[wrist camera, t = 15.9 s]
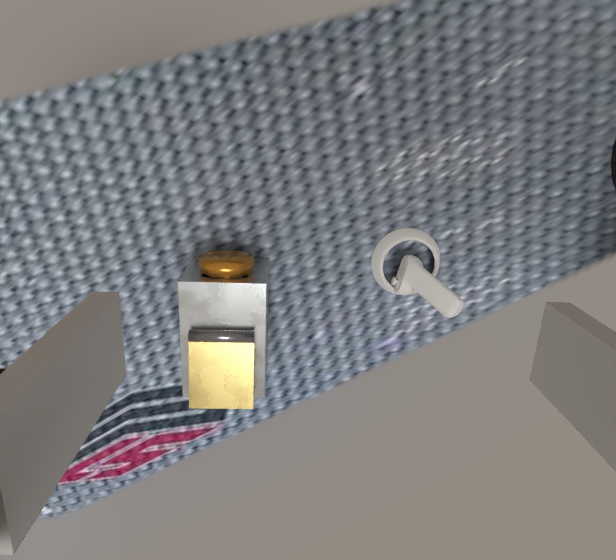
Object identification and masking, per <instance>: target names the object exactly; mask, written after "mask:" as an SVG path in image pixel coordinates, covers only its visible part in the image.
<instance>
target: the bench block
mask: <svg viewBox="0 0 616 560" xmlns="http://www.w3.org/2000/svg"><path fill="white" fill-rule="evenodd" d="M268 295H269V258H253V271H252V272H251V273H249V274H247V275H243V278H222V277H210V276H209V275H205V274H203V273H201V272H200V270H199V256H194V258H193V259H192V261H191V262H190V264H189V265H188V267H187V268H186V270H185V271H184V273H183V274H182V276H181V277H180V279H179V280H178V298H179V320H180V342H181V364H182V386H183V397H189V345H188V332H189V329H197V330H249V331H255V350H254V398H265V384H266V370H267V352H268Z"/></svg>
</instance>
